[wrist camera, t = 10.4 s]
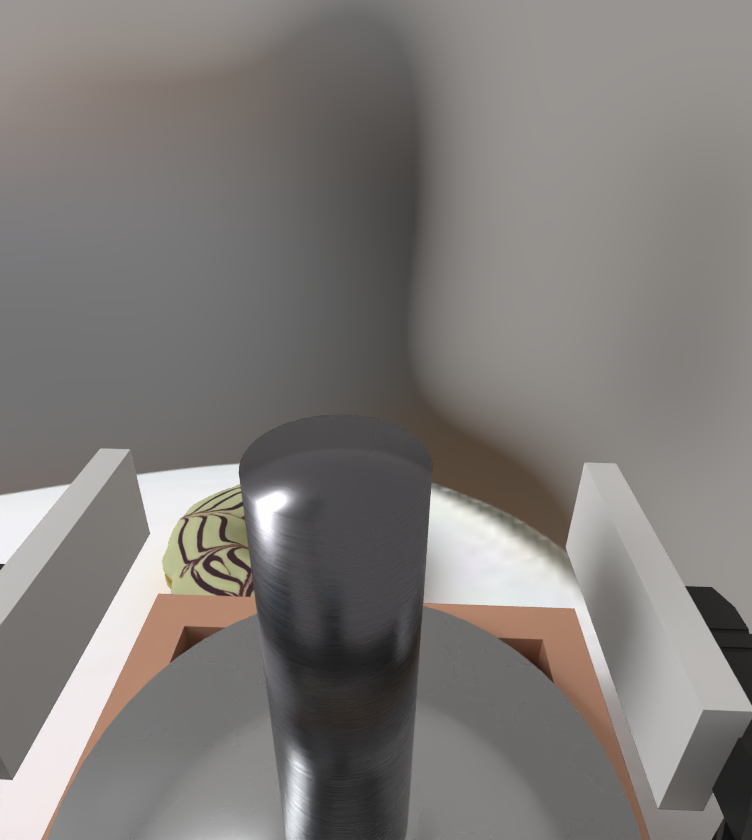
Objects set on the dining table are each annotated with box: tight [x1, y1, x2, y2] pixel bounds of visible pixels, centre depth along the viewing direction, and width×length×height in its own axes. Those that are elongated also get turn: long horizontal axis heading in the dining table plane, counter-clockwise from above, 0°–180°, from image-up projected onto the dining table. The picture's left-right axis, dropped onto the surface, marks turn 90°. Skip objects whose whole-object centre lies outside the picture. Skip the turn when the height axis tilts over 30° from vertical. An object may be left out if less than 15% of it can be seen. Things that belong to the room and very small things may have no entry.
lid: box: [47, 415, 642, 840], centre depth 13 cm, size 15×15×12 cm
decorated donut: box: [162, 485, 255, 597], centre depth 30 cm, size 10×11×4 cm
